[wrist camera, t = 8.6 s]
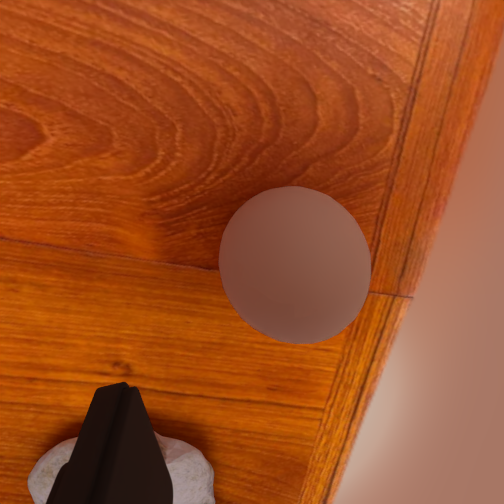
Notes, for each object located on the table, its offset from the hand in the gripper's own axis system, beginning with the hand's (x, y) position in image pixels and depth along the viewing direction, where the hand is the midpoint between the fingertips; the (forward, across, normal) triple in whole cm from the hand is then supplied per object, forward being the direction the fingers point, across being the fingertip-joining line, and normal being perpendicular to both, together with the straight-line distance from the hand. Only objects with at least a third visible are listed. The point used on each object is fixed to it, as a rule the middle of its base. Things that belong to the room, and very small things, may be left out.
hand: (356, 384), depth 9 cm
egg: (+10, 0, -1) cm, 10 cm away
